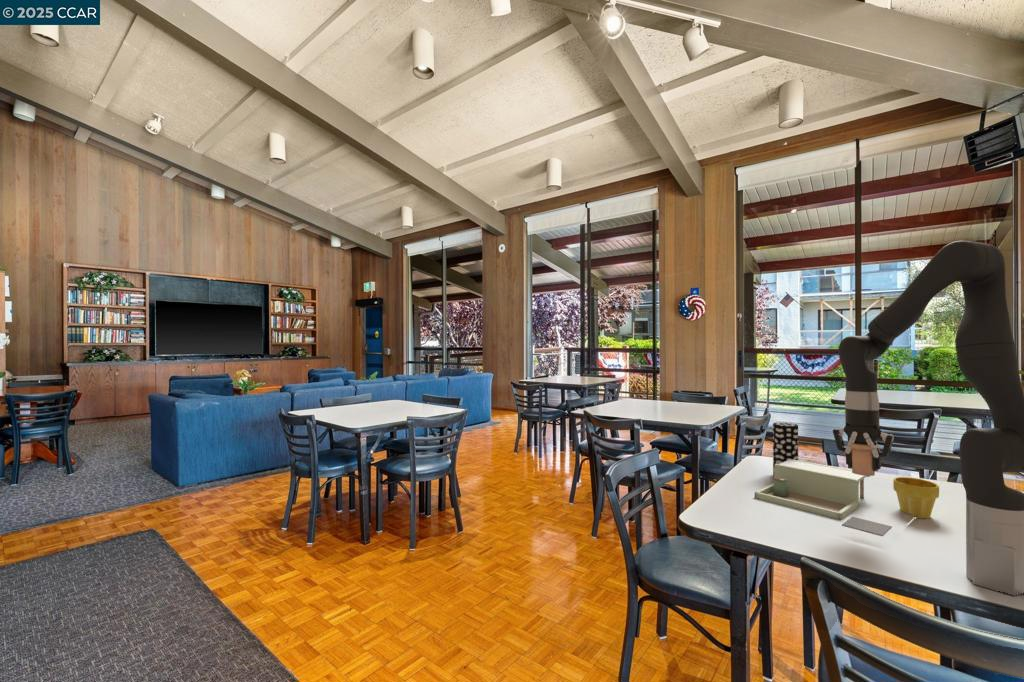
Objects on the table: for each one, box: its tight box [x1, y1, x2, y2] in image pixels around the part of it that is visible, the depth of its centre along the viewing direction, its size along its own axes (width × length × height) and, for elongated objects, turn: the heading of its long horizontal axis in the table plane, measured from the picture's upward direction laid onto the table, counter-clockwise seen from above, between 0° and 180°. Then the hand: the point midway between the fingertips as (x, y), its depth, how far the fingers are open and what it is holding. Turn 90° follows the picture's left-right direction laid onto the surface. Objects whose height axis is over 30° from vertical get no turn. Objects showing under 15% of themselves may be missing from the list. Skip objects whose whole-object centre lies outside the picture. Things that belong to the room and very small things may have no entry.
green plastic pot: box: [772, 477, 789, 497], centre depth 153 cm, size 4×4×5 cm
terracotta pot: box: [850, 443, 876, 477], centre depth 128 cm, size 6×6×10 cm
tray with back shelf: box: [754, 459, 871, 520], centre depth 150 cm, size 28×24×9 cm
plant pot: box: [892, 476, 940, 519], centre depth 137 cm, size 10×10×10 cm
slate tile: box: [841, 516, 893, 537], centre depth 127 cm, size 9×9×1 cm
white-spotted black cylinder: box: [772, 421, 799, 475], centre depth 176 cm, size 8×8×20 cm
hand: (863, 468), depth 128 cm, fingers closed on terracotta pot, 5 cm apart
